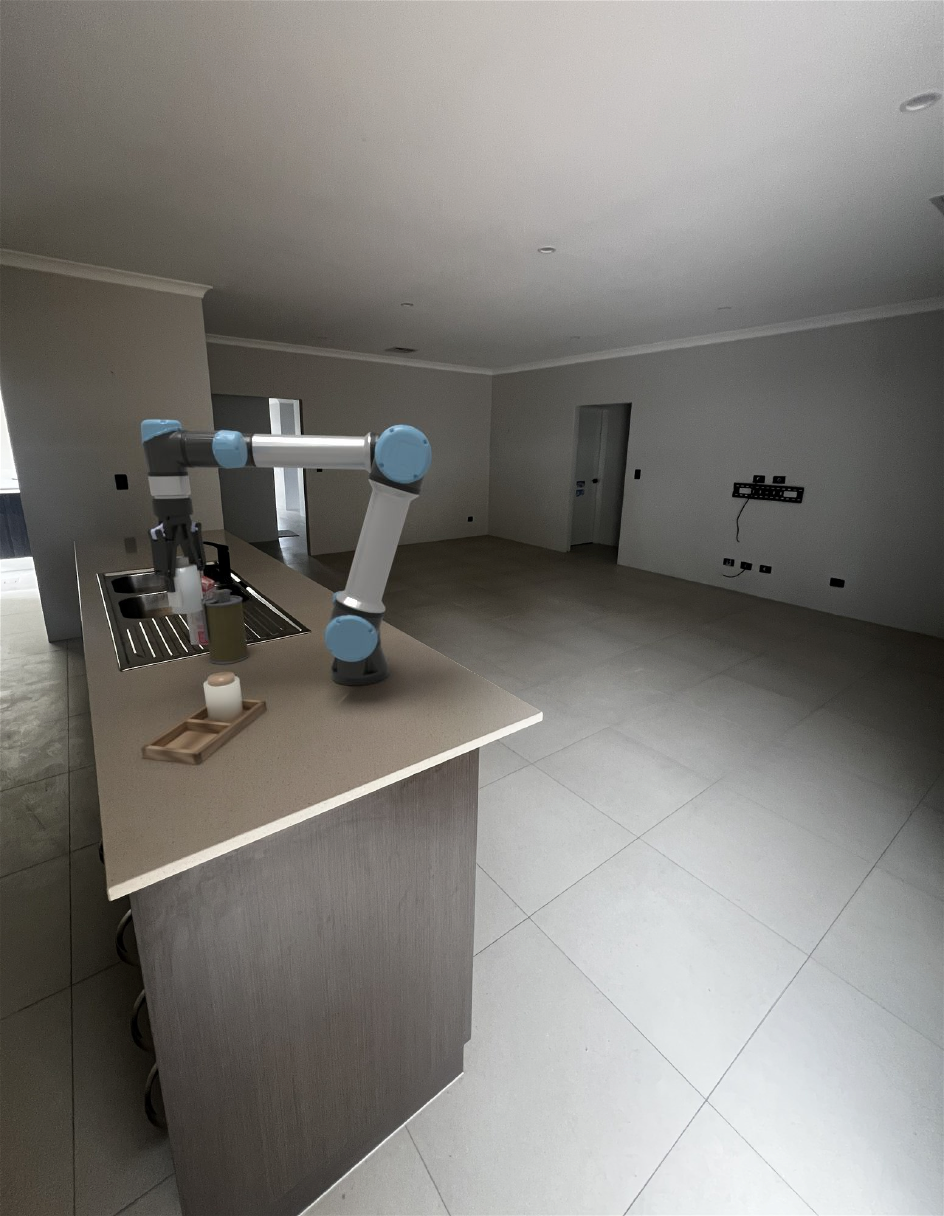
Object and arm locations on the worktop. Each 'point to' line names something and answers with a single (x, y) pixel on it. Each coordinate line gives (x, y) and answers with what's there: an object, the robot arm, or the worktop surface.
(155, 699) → the worktop surface
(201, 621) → the juice carton
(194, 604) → the plastic bottle
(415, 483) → the robot arm
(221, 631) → the canister
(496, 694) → the worktop surface
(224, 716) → the ceramic jar
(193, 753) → the caddy
